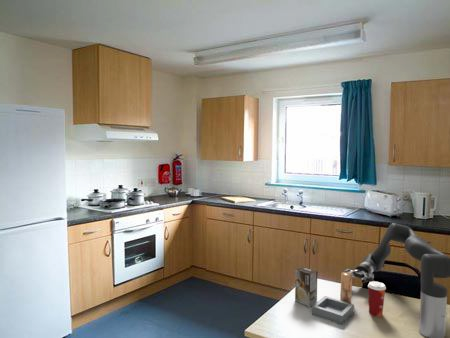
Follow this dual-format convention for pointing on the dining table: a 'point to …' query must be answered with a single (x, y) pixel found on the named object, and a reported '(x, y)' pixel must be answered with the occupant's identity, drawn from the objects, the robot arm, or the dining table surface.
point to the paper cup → (376, 298)
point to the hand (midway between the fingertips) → (354, 279)
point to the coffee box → (306, 286)
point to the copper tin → (346, 287)
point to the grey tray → (333, 310)
